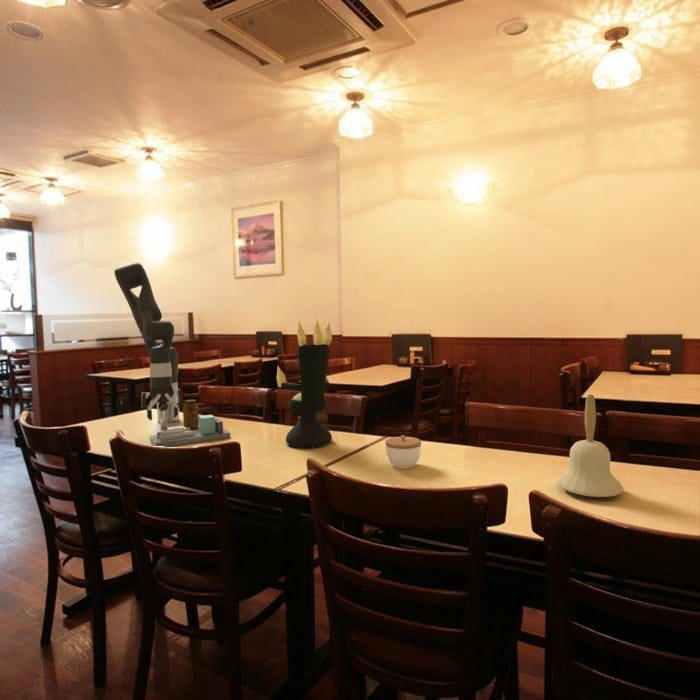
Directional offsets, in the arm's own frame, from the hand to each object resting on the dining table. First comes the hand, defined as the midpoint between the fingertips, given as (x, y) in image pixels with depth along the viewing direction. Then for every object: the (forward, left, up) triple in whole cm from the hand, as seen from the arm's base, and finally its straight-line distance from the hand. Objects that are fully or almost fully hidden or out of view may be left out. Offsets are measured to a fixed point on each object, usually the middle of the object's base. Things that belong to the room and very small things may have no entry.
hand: (163, 418), depth 186 cm
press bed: (0, +9, -9) cm, 13 cm away
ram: (0, +3, -7) cm, 8 cm away
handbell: (+116, +83, -9) cm, 143 cm away
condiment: (-18, +14, -10) cm, 25 cm away
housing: (0, +16, -7) cm, 18 cm away
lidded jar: (+72, +57, -10) cm, 92 cm away
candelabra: (+33, +45, -9) cm, 57 cm away
